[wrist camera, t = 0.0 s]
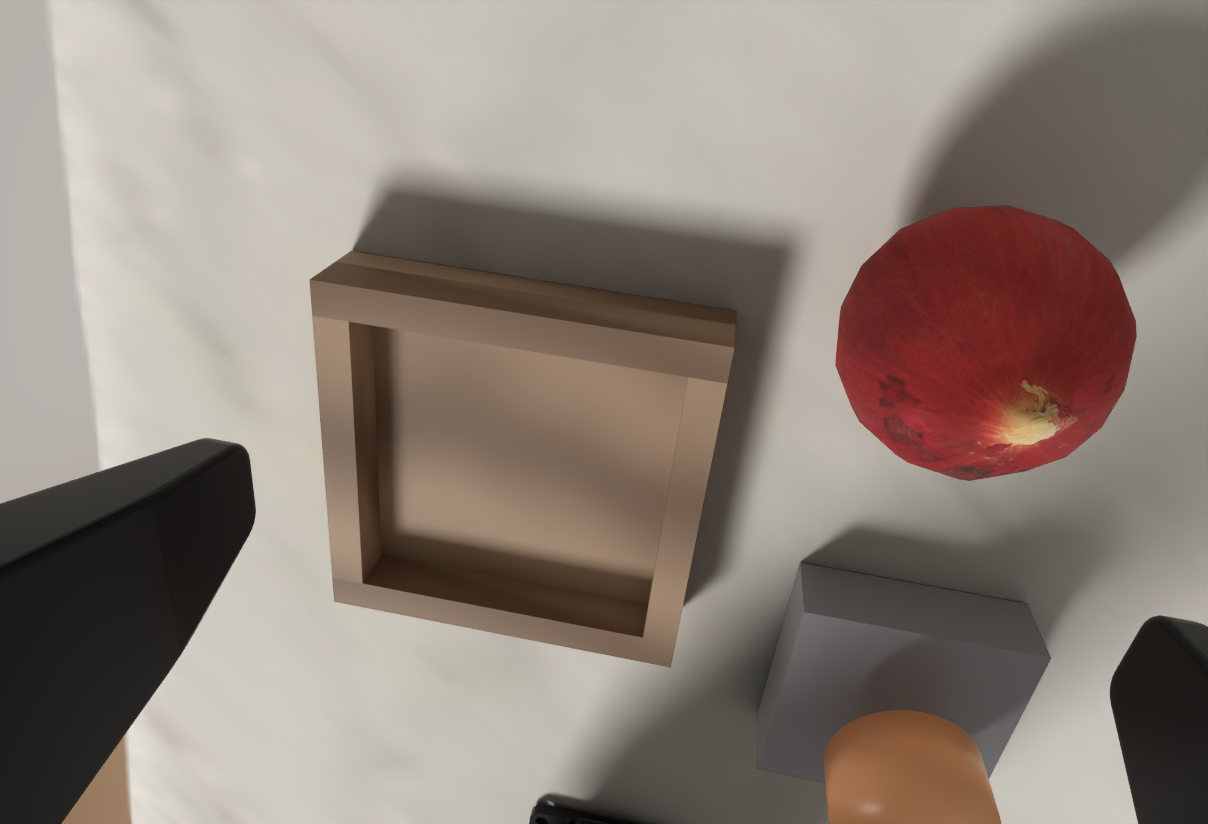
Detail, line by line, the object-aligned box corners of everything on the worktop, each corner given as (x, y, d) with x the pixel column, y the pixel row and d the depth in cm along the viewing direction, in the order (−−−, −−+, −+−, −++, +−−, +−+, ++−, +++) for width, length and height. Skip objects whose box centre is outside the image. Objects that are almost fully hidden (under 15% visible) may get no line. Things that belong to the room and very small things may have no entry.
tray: (676, 612, 28) (670, 667, 25) (365, 553, 28) (334, 601, 26) (736, 311, 22) (734, 347, 20) (351, 251, 23) (309, 279, 21)
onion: (990, 414, 22) (1098, 611, 15) (790, 350, 22) (809, 519, 16) (1110, 213, 20) (1307, 345, 13) (880, 141, 20) (952, 234, 13)
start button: (954, 826, 25) (970, 891, 23) (808, 796, 25) (812, 858, 23) (1004, 728, 22) (1026, 791, 21) (844, 696, 23) (851, 756, 21)
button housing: (955, 753, 29) (971, 812, 27) (757, 714, 29) (757, 768, 27) (1027, 603, 25) (1051, 658, 23) (800, 562, 26) (804, 612, 24)
